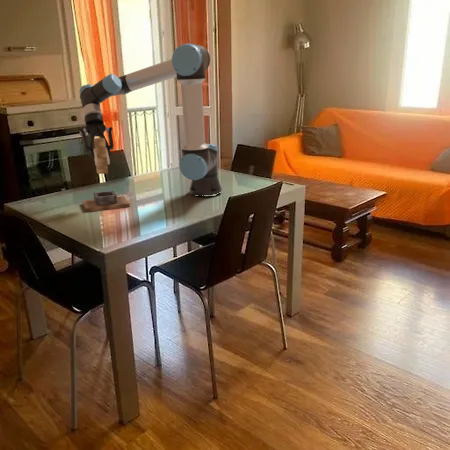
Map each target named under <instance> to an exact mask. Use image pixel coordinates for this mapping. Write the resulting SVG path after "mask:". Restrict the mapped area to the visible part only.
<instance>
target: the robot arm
mask: <svg viewBox="0 0 450 450" xmlns="http://www.w3.org/2000/svg"><path fill="white" fill-rule="evenodd" d="M210 63H211V55H210V53H209V50H208V49H207V48H206V47H205V46H203V45H201V44H196V43H183V44H181V45H178V47H176V48H175V49H174V51H173V54H172V57H171V58H170V59H168V60H165V61H161V62H160V63H156V64H154V65H150V66H147V67H144V68H142V69H139V70H136V71H133V72H129V73H127V74H124V75H120V76H117V75H115V74H114V73H110V74H108V75H105V76H104V77H103V78H102V79H101V80H99V81H98V82H96V83H95V84H90V83H88V84H83V85H82V86H81V87H80V88H79V99H80V103H81V106H82V112H83V118H84V124H85V127H84V128H79V135H80V136H81V138H82V142H83V146H84V150H85V152H89V153H90V157H91V159H94V164H95V167H96V166H98V160H97V155H96V150H95V148H94V138H95V137H98V138H104V139H105V144H106V157H107V166H108V165H110V158H111V157H112V156H111V155H112V153H111V150H113V149H114V138H113V134H112V133H113V127H112V126H110V127H107V126H106V125H105V123H104V118H103V114H102V113H103V112H102V108H101V103H103V102H104V101H106V100H108V99H109V98H111V97H115V96H121V95H122V96H124V95H126V94H127V95H128V94H129V93H132V92H134V91H137V90H140V89H143V88H146V87H148V86H153V85H155V84H159V83H162V82H165V81H167V80H171V79H174V78H176V81H177V82H178V83H179V84H180V90H181V92H180V93H181V106H182V121H183V122H182V123H183V133H184V134H183V136H184V144H183V146H181V158H180V160H179V166H178V168H179V171H180V173H181V174H182V175H183V176H184V178H186V179H188V180H191V183H190V185H189V190H188V192H189V195H190V194H192V195H198V196H202V195H203V196H204V195H213V194H217V193H219V192H221V191H223V190H222V189H223V188H222V186H221V183H220V179H219V173H218V172H219V170H218V169H219V168H218V167H219V149H218V148H219V147H218V145H217V144H214V143H206V135H205V116H204V115H205V114H204V95H203V93H204V92H203V83H204V82H205V81H206V71H207V70H208V68H209V66H210ZM105 132H106V133H107V137H108V141H107V138H106V136H105V134H104V133H105ZM86 133H88V134H89V135H90V144H88V139H87V134H86ZM192 195H191V196H192Z"/></svg>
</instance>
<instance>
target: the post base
mask: <svg viewBox="0 0 450 450" xmlns="http://www.w3.org/2000/svg"><path fill="white" fill-rule="evenodd" d="M81 203H82V206H83V208H84V211H85V212H86V213H88V212H89V213H90V212H96V211H97V212H98V211H106V210H114V209H122V208H123V209H124V208H130V207H131V205H130V202H129V201H128V199H127V198H126V197H125V195H123V196H118V195H117V193H115V191H114V190H108V191H107V190H106V191H105V190H104V191H99V192H96V191H95V192H93V199H85V200H82V202H81Z"/></svg>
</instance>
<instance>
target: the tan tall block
mask: <svg viewBox="0 0 450 450" xmlns="http://www.w3.org/2000/svg"><path fill="white" fill-rule="evenodd" d="M93 149H95V150H96V155H97V160H98V166H96V165H95V167H96V173H97V175H103V174H104V175H105V174H109V169H108V165H107V157H106V144H105V139H104V138H100V137H98V138H95V137H94V144H93Z"/></svg>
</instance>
